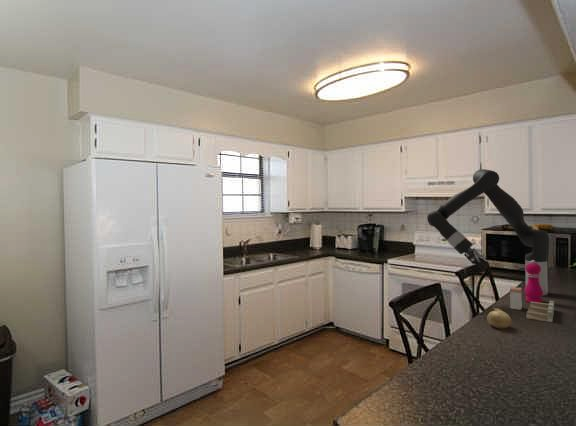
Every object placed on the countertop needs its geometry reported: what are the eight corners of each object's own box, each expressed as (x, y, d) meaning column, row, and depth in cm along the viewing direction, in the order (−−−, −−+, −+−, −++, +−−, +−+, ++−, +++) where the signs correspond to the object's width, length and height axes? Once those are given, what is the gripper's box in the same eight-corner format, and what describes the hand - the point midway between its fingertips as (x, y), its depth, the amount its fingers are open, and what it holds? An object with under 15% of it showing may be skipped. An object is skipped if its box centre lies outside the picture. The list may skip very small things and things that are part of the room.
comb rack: (530, 306, 156) (530, 298, 156) (554, 310, 150) (553, 301, 150) (526, 318, 142) (526, 308, 141) (552, 322, 136) (552, 312, 136)
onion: (513, 326, 134) (512, 308, 134) (508, 332, 128) (508, 313, 128) (489, 321, 139) (489, 304, 139) (484, 327, 133) (484, 309, 133)
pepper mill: (537, 299, 167) (536, 258, 166) (546, 303, 160) (546, 261, 159) (521, 299, 168) (520, 259, 167) (530, 303, 161) (529, 261, 160)
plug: (511, 306, 158) (511, 286, 158) (521, 307, 155) (521, 288, 155) (510, 308, 155) (509, 288, 155) (520, 309, 152) (520, 289, 152)
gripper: (461, 238, 162) (489, 264, 155) (468, 236, 173) (495, 260, 166) (450, 249, 165) (476, 275, 158) (457, 246, 176) (482, 270, 169)
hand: (486, 267), depth 162 cm, fingers open, 8 cm apart
